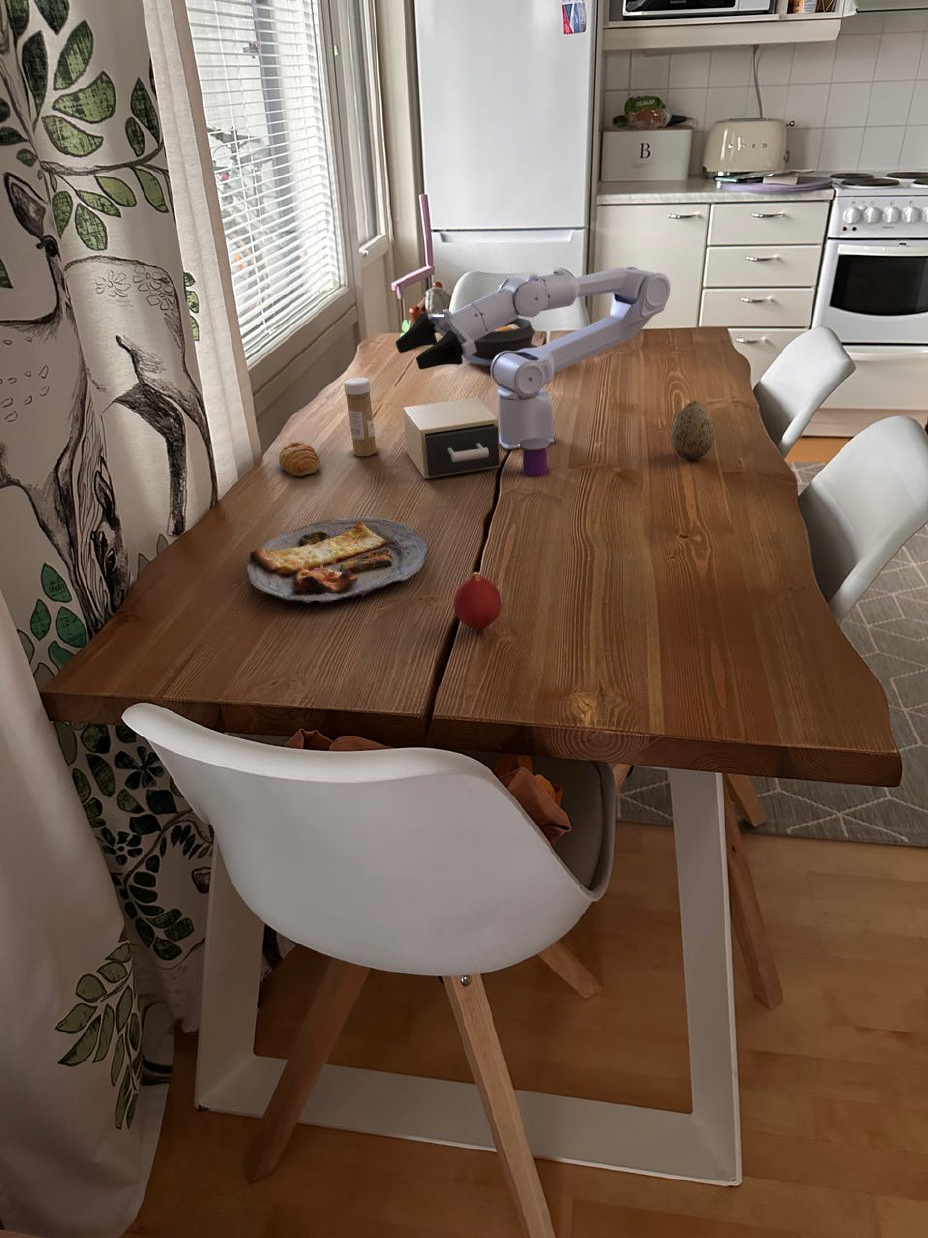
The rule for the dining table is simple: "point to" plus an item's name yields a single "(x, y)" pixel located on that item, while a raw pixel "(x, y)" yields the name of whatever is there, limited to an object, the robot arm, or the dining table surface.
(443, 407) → the mini desk drawer box
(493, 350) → the casserole
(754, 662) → the dining table surface
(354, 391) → the sprinkles bottle
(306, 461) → the pastry
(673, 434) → the decorative egg
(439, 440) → the pod drawer
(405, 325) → the seedling
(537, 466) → the coffee pod
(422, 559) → the food plate
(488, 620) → the onion
